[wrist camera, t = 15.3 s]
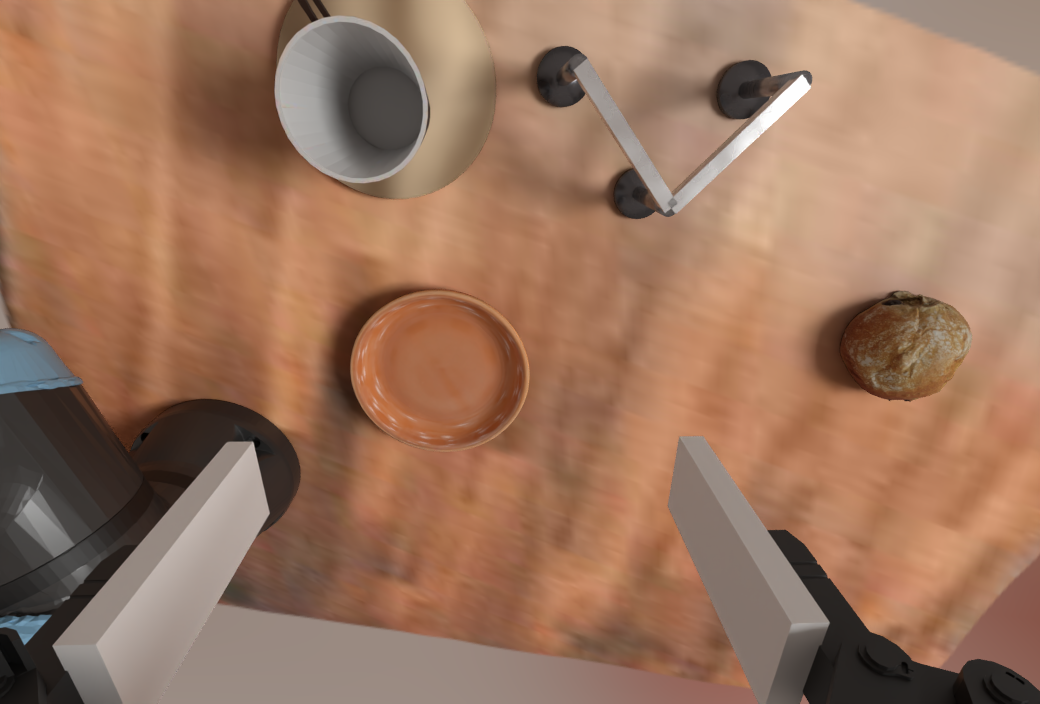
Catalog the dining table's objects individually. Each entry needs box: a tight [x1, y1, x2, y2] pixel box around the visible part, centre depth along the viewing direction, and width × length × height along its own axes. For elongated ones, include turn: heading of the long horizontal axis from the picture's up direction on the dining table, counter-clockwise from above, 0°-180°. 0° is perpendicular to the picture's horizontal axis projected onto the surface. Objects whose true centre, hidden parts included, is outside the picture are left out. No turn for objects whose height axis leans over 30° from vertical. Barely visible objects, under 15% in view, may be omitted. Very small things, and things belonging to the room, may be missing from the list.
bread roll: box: [840, 291, 972, 401], centre depth 47 cm, size 10×10×8 cm
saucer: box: [350, 289, 530, 452], centre depth 47 cm, size 16×16×3 cm
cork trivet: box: [276, 0, 496, 199], centre depth 38 cm, size 16×16×1 cm
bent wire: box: [537, 46, 812, 219], centre depth 36 cm, size 18×12×9 cm, turn 87°
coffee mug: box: [274, 0, 430, 183], centre depth 33 cm, size 12×9×10 cm
